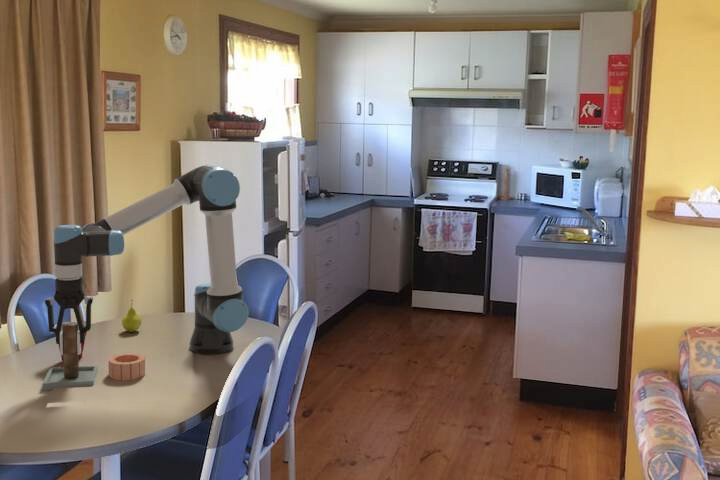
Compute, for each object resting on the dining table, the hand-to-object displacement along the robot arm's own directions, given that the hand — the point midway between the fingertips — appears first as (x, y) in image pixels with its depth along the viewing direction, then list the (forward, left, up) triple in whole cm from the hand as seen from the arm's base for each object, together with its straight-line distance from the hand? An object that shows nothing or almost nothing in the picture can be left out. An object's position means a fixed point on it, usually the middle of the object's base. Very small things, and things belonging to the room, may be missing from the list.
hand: (70, 353), depth 219 cm
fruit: (-15, -51, -9) cm, 54 cm away
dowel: (0, 0, -7) cm, 7 cm away
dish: (0, 0, -9) cm, 9 cm away
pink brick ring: (-16, -1, -9) cm, 18 cm away
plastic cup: (+2, -19, -9) cm, 21 cm away
